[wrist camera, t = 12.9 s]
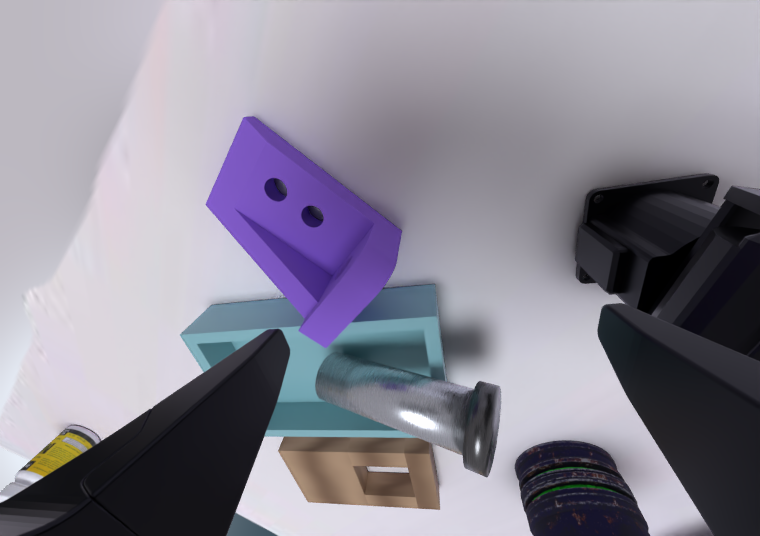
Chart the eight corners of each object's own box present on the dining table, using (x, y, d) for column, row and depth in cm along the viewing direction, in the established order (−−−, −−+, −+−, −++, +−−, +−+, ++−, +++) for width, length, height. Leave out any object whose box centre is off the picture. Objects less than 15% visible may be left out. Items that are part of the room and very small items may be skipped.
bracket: (402, 229, 21) (393, 277, 15) (349, 289, 24) (325, 348, 18) (256, 116, 19) (179, 121, 13) (218, 198, 22) (142, 233, 16)
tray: (434, 283, 23) (437, 316, 19) (448, 397, 29) (452, 438, 25) (211, 305, 27) (179, 334, 23) (263, 400, 33) (245, 436, 29)
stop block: (428, 429, 31) (429, 453, 29) (438, 485, 36) (440, 509, 34) (287, 429, 35) (278, 450, 33) (314, 480, 40) (308, 502, 38)
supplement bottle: (71, 419, 40) (-7, 489, 33) (104, 436, 41) (36, 507, 34) (65, 433, 42) (-10, 501, 35) (97, 448, 43) (31, 518, 36)
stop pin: (353, 341, 27) (503, 378, 21) (346, 398, 27) (496, 454, 20) (314, 348, 23) (490, 397, 16) (305, 416, 23) (481, 495, 16)
